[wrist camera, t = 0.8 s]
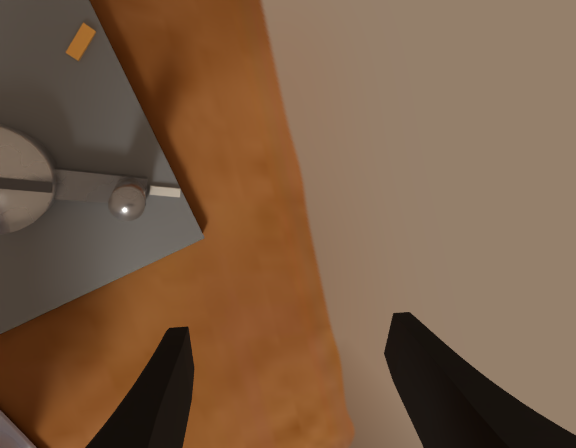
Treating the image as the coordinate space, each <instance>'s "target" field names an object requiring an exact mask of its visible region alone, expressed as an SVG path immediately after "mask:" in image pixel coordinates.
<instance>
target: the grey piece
mask: <svg viewBox="0 0 576 448" xmlns="http://www.w3.org/2000/svg"><path fill="white" fill-rule="evenodd" d="M147 182H148V177H143V176H134V175H125V174H115V173H106V172H97V171H88V170H78V169H69V168H60V167H57V164H56V162H55V160H54V158H53V156H52V155H51V154H50V152H49V151H48V150H47V149H46V148H45V146H44V145H43V144H41V143H40V142H39V141H38V140H37V139H35V138H34V137H32V136H31V135H29V134H27V133H25V132H24V131H21V130H19V129H16V128H13V127H10V126H6V125H1V124H0V234H7V233H11V232H15V231H18V230H21V229H23V228H25V227H27V226H29V225H30V224H32V223H33V222H35V221H36V220H37V219H38V218H39V217H40V216H41V215H43V214H44V213H45V212H46V211H47V210H48V209H49V208H50V207H51V206H52V204H53V203H54V201H55V200H56V199H59V200H72V201H85V202H98V203H108V208H109V210H110V212H111V214H112V215H113V216H114V217H116V218H117V219H119V220H122V221H132V220H135V219H137V218H139V217H140V216H141V215H142V214H143V212H144V209H145V206H146V196H147Z"/></svg>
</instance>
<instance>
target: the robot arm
mask: <svg viewBox="0 0 576 448" xmlns="http://www.w3.org/2000/svg"><path fill="white" fill-rule="evenodd" d="M384 355H385V358H386V361H387V364H388V367H389V370H390V373H391V376H392V379H393V382H394V384H395V386H396V389H397V391H398V393H399V395H400V397H401V400H402V402H403V404H404V406H405V408H406V410H407V413H408V415H409V417H410V419H411V421H412V423H413V425H414V428H415V429H416V432H417V434H418V436H419V438H420V440H421V442H422V444H423V447H424V448H576V435H574V434H572V433H571V432H569V431H567V430H565V429H563V428H562V427H560V426H558V425H557V424H555V423H554V422H552V421H550V420H548V419H547V418H545V417H544V416H542V415H540V414H539V413H537V412H536V411H534V410H533V409H531V408H529V407H528V406H526V405H525V404H523V403H522V402H520V401H519V400H517V399H516V398H515V397H513V396H512V395H510V394H509V393H507V392H506V391H504V390H503V389H501V388H500V387H499V386H497V385H496V384H494V383H493V382H492V381H490V380H489V379H488V378H486V377H485V376H484V375H483V374H481V373H480V372H479V371H478V370H476V369H475V368H474V367H472V366H471V365H470V364H469V363H468V362H466V361H465V360H464V359H463V358H461V357H460V356H459V355H458V354H457V353H455V352H454V351H453V350H452V349H451V348H450V347H448V346H447V345H446V344H445V343H444V342H443V341H441V340H440V339H439V338H438V337H437V336H436V335H435V334H434V333H433V332H431V331H430V330H429V329H428V328H427V327H426V326H425V325H424V324H422V323H421V322H420V321H419V320H418V319H417V318H416V317H414V316H413V315H412V314H411V313H410V312H404V313H393V317H392V321H391V326H390V330H389V334H388V339H387V343H386V347H385V352H384ZM193 379H194V363H193V356H192V349H191V342H190V335H189V328H188V327H176V328H169V329H168V330H167V331H166V333H165V335H164V336H163V338H162V340H161V342H160V344H159V345H158V347H157V349H156V351H155V352H154V354H153V356H152V357H151V359H150V361H149V362H148V364H147V365H146V367H145V368H144V370H143V371H142V373H141V375H140V376H139V378H138V379H137V381H136V382H135V384H134V385H133V387H132V388H131V389H130V391H129V392H128V394H127V395H126V396H125V398H124V399H123V401H122V402H121V403H120V405H119V406H118V407H117V409H116V410H115V412H114V413H113V414H112V415H111V417H110V418H109V419H108V421H107V422H106V423H105V424H104V426H103V427H102V428H101V429H100V431H99V432H98V433H97V434H96V435H95V437H94V438H93V439H92V440H91V441H90V443H89V444H88V445H87V446H86V447H85V448H182V447H183V442H184V437H185V432H186V427H187V421H188V416H189V411H190V406H191V400H192V390H193ZM0 448H37V447H36V446H35V445H34V444H33V443H32V442H31V441H30V440H29V439H28V438H27V437H26V436H25V435H24V434H23V433H22V432H21V431H20V430H19V429H18V428H17V427H16V426H15V425H14V424H13V423H12V422H11V421H10V420H9V418H8V417H7V416H6V415H5V414H4V413H3V412H2V411H1V410H0Z"/></svg>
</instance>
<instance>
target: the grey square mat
mask: <svg viewBox="0 0 576 448" xmlns="http://www.w3.org/2000/svg"><path fill="white" fill-rule="evenodd" d="M0 124H1V125H6V126H10V127H13V128H16V129H19V130H21V131H24V132H25V133H27V134H29V135H31V136H32V137H34V138H35V139H37V140H38V141H39V142H40V143H41V144H43V145H44V146H45V148H46V149H47V150H48V151H49V152H50V154H51V155H52V156H53V158H54V160H55V162H56V164H57V167H60V168H69V169H78V170H88V171H97V172H106V173H115V174H125V175H134V176H143V177H148V182H147V196H146V206H145V209H144V212H143V214H142V215H141V216H140V217H139V218H137V219H135V220H132V221H122V220H119V219H117V218H116V217H114V216H113V215H112V214H111V212H110V210H109V208H108V203H98V202H85V201H72V200H59V199H56V200H55V201H54V203H53V204H52V206H51V207H50V208H49V209H48V210H47V211H46V212H45V213H44V214H43V215H41V216H40V217H39V218H38V219H37V220H36V221H35V222H33V223H32V224H30V225H29V226H27V227H25V228H23V229H21V230H18V231H15V232H11V233H7V234H0V334H2V333H4V332H6V331H8V330H10V329H12V328H15V327H17V326H19V325H21V324H23V323H25V322H27V321H29V320H31V319H34V318H36V317H38V316H40V315H42V314H44V313H46V312H48V311H51V310H53V309H55V308H57V307H59V306H61V305H63V304H65V303H68V302H70V301H72V300H74V299H76V298H78V297H80V296H82V295H85V294H87V293H89V292H91V291H93V290H95V289H97V288H99V287H102V286H104V285H106V284H108V283H110V282H112V281H114V280H116V279H119V278H121V277H123V276H125V275H127V274H129V273H131V272H133V271H136V270H138V269H140V268H142V267H144V266H146V265H148V264H150V263H153V262H155V261H157V260H159V259H161V258H163V257H165V256H167V255H170V254H172V253H174V252H176V251H178V250H180V249H182V248H184V247H187V246H189V245H191V244H193V243H195V242H197V241H199V240H201V239H204V236H203V234H202V232H201V230H200V227H199V225H198V223H197V221H196V219H195V217H194V215H193V213H192V211H191V209H190V207H189V205H188V203H187V201H186V199H185V197H184V195H183V192H182V190H181V188H180V186H179V184H178V182H177V180H176V178H175V176H174V174H173V172H172V170H171V168H170V166H169V164H168V162H167V160H166V157H165V155H164V153H163V151H162V149H161V147H160V145H159V143H158V141H157V139H156V137H155V135H154V133H153V131H152V129H151V127H150V125H149V122H148V120H147V118H146V116H145V114H144V112H143V110H142V108H141V106H140V104H139V102H138V100H137V98H136V96H135V94H134V92H133V90H132V87H131V85H130V83H129V81H128V79H127V77H126V75H125V73H124V71H123V69H122V67H121V65H120V63H119V61H118V59H117V57H116V55H115V52H114V50H113V48H112V46H111V44H110V42H109V40H108V38H107V36H106V34H105V32H104V30H103V28H102V26H101V24H100V22H99V20H98V17H97V15H96V13H95V11H94V9H93V7H92V5H91V3H90V1H89V0H0Z"/></svg>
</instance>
